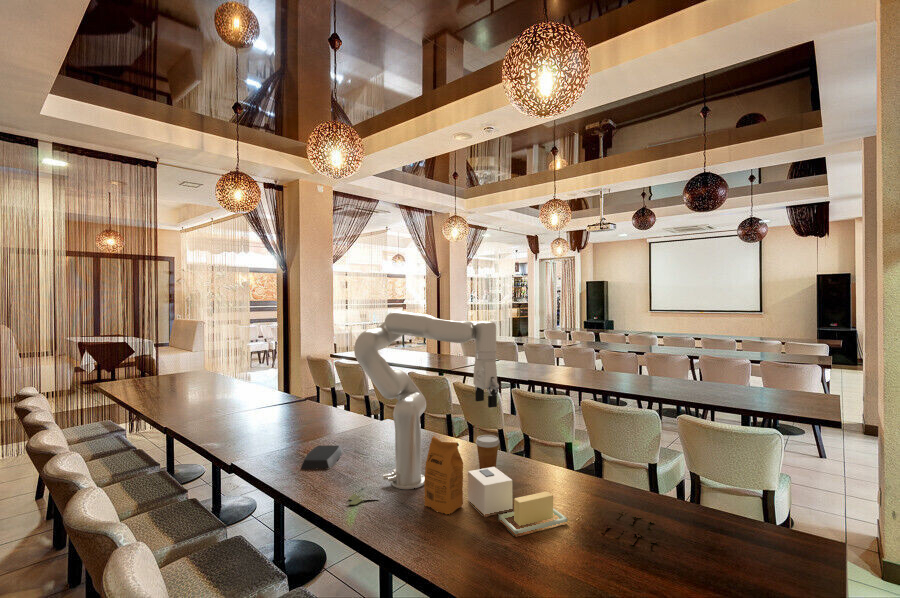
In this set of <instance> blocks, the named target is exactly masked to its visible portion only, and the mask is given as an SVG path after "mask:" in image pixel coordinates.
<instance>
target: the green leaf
mask: <svg viewBox="0 0 900 598" xmlns="http://www.w3.org/2000/svg"><path fill="white" fill-rule="evenodd" d="M361 496H362V495H361ZM362 497H363V496H362ZM359 498H360V496H359V495H358V496H357V495H356V494H354V493H353V494H351V496H350V497H348V500H350V501H349V502H347V503H346V504H347V505H357V504H359V503H361V502H363V500H362V499H359Z"/></svg>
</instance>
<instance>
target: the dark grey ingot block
mask: <svg viewBox="0 0 900 598" xmlns="http://www.w3.org/2000/svg"><path fill="white" fill-rule="evenodd" d="M342 452H343V448H342V447H341V445H340V444H339V445H319V444H318V445H317V446H315V447H314V448H312V449H311V450H310V451H309V452H308V453H307V454H306V455H305V458H304V459H303V462H302V465H301V467H300V469H301V470H317V469H316V468H330V467H331V466H332V467H334V466H335V464H337V462H338V461H339V460H340V458H341V457H342V455H343V453H342ZM340 456H341V457H340ZM338 459H339V460H338ZM337 460H338V461H337ZM332 467H331V468H332ZM331 468H330V469H331Z"/></svg>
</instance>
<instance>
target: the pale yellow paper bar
mask: <svg viewBox="0 0 900 598" xmlns="http://www.w3.org/2000/svg"><path fill="white" fill-rule="evenodd" d="M553 508H554V495H553V494H552V493H550V492H549V490H548V491H542V492H538V493H533V494H527V495H524V496H519V497H515V498H513V512H514V521H515V522H516V523H517V524H518V525H519V526H521V525H526V524H530V523H534V522H538V521H542V520H547V519H551V518H553Z"/></svg>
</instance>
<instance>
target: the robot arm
mask: <svg viewBox="0 0 900 598" xmlns="http://www.w3.org/2000/svg"><path fill="white" fill-rule="evenodd" d="M402 336H409V337H416V338H424V339H427V340H434V341H440V342H447V343H452V344H453V343H454V344H465V343H468V342H469V341H474V350H475V351H474V364H473V365H474V366H473V385H474V392H475V393H474V394H475V402H482V401H484V400H485V391H486V390H487V392H488V396H487V408H497V405H498V393H499V389H500V384H499V383H498V369H497V362H496V361H497V324H496V323H495V322H494V321H489V320H488V321H487V320H485V321H484V320H483V321H473V320H472V321H471V320H465V319H464V320H461V321H457V320H456V321H455V320H447V319H442V318H441V319H440V318H437V317H434V316H432V315H430V314H424V313H417V312H416V313H415V312H408V311H406V310H394V311H390V312H388V314H387V315H386V316H385V319H384V322H383V323H382V324H380V325H379V326H377V327H376V328H370V329H367V330H366V329H365V330H364V331H362V332H361V333H360V334H359V335H358V337H357V338H356V340H355V343H354V347H353V348H354V356H355V359H356V360H357V361H356V362H357V363H358V365H359V366H360V367H361V369H362V370H363V371H364V373H366V375H367V377H368V378H369V379H370V381H371V383H373V385H374V386H375V388H376V389H377V390H378V392H379V394H380V395H381V396H382V397H384V398H385V399H387V400H394V399H396V400H397V402H396V403H395V405H394V408H393V415H392V417H393V423H394V441H395V442H394V443H395V444H394V445H395V451H394V455H395V460H394V461H395V466H394V467H395V469H394V468H393V470H392V472H390V473H385V474H382V480H383V481H386V480H387V482H391V483H390V484H391V485H392V486H393V488H396V489H399V490H413V489H414V488H415V489H418V488H420V487H423V486H424V480H425V475H424V474H422V428H421V422H420V421H421V420H420V417H421V416H422V414H423V413H424V412H425V411H426V408H427V399H426V397H425V396H424V395H423V393H422V391H421V390H420V388H419V387H418V386H417V385H416V384H415V382H414V381H413V380H412V377H410V376H409V374H407V373H406V372H405V371H403V370H400V369H394V370H393V369H392V367H391V366H390V364H389V363H388V362H387V360H386V359H385V358H384V357H383V356H381V355H380V354H379V351H380V350H384V349H385V348H387V347H389V346H390V345H391V344H393V343H394V342H395V341H397V340H398V339H399V338H400V337H402Z"/></svg>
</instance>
